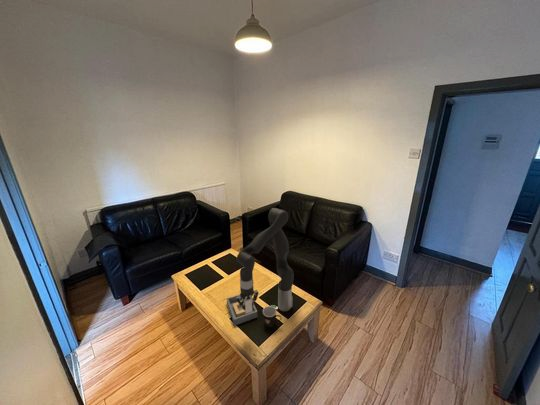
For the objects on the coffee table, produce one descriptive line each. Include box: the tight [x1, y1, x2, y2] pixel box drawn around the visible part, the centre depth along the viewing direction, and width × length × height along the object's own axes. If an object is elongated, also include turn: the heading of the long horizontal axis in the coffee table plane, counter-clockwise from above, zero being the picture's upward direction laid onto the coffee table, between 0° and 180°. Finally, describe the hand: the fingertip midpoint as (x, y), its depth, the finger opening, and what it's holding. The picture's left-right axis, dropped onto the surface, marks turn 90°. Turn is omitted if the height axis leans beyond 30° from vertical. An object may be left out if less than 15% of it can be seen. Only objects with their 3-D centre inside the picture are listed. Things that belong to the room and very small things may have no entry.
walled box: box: [226, 294, 259, 326], centre depth 152 cm, size 16×20×5 cm
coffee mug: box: [262, 305, 282, 328], centre depth 140 cm, size 12×9×10 cm
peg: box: [245, 299, 252, 313], centre depth 130 cm, size 4×4×9 cm
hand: (247, 307), depth 130 cm, fingers closed on peg, 4 cm apart
